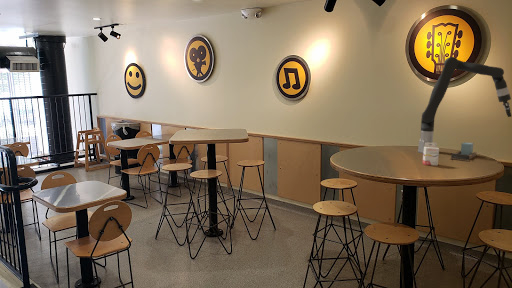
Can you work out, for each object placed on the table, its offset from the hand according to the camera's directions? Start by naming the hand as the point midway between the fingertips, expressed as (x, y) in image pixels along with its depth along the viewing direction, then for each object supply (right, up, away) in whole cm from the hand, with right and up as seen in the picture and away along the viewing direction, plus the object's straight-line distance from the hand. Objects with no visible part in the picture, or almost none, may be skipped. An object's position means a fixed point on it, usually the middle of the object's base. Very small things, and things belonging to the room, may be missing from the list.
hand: (509, 115), depth 281 cm
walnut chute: (-32, -31, +1) cm, 45 cm away
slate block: (-28, -29, +6) cm, 41 cm away
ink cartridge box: (-67, -34, -20) cm, 78 cm away
